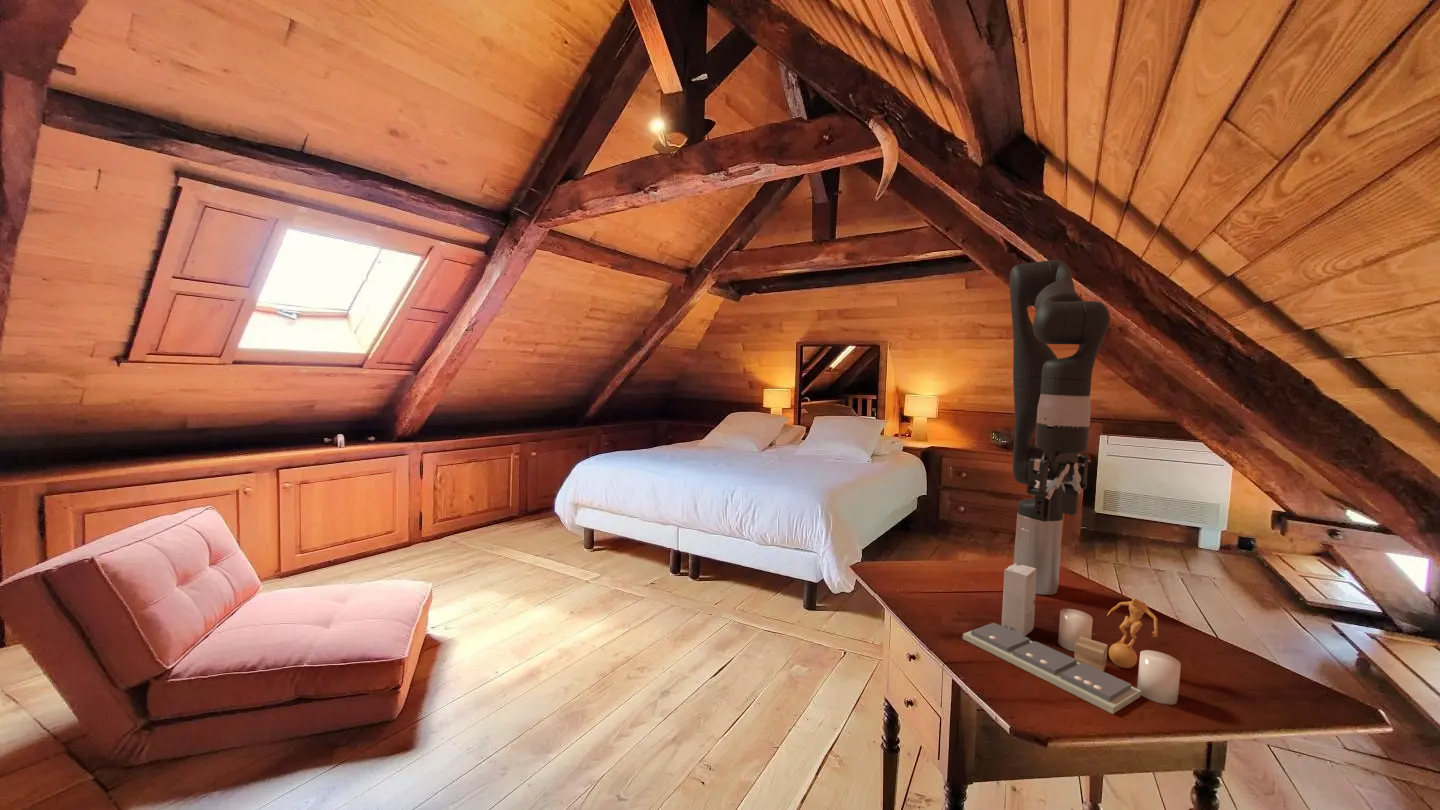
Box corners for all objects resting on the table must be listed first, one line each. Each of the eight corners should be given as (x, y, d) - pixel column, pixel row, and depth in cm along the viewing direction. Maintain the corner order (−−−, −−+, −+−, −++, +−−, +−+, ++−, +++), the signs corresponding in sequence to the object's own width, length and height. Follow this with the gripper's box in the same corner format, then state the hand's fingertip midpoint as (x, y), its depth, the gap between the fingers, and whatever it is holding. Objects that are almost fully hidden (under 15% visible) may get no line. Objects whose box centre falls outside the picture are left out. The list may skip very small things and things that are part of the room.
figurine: (1090, 655, 97) (1095, 590, 96) (1115, 651, 99) (1120, 587, 98) (1138, 681, 89) (1144, 611, 88) (1164, 676, 91) (1170, 607, 90)
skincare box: (1024, 638, 103) (1029, 576, 102) (999, 629, 106) (1003, 569, 105) (1034, 627, 107) (1039, 568, 106) (1010, 619, 110) (1014, 561, 110)
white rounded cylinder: (1066, 636, 104) (1069, 606, 103) (1095, 648, 100) (1098, 617, 99) (1052, 643, 101) (1055, 612, 101) (1081, 655, 97) (1084, 623, 97)
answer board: (991, 628, 107) (992, 619, 106) (1140, 696, 85) (1141, 685, 85) (962, 638, 102) (963, 629, 102) (1112, 714, 81) (1113, 702, 80)
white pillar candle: (1145, 682, 89) (1148, 647, 89) (1183, 698, 85) (1186, 662, 84) (1131, 690, 87) (1134, 654, 86) (1169, 708, 82) (1172, 670, 82)
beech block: (1078, 657, 97) (1080, 636, 96) (1105, 667, 94) (1107, 644, 93) (1073, 666, 94) (1075, 644, 93) (1101, 676, 91) (1103, 653, 91)
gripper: (1061, 418, 97) (1055, 507, 98) (1016, 421, 90) (1009, 516, 91) (1108, 423, 91) (1100, 517, 92) (1063, 426, 84) (1055, 528, 85)
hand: (1055, 517), depth 92 cm, fingers open, 8 cm apart
